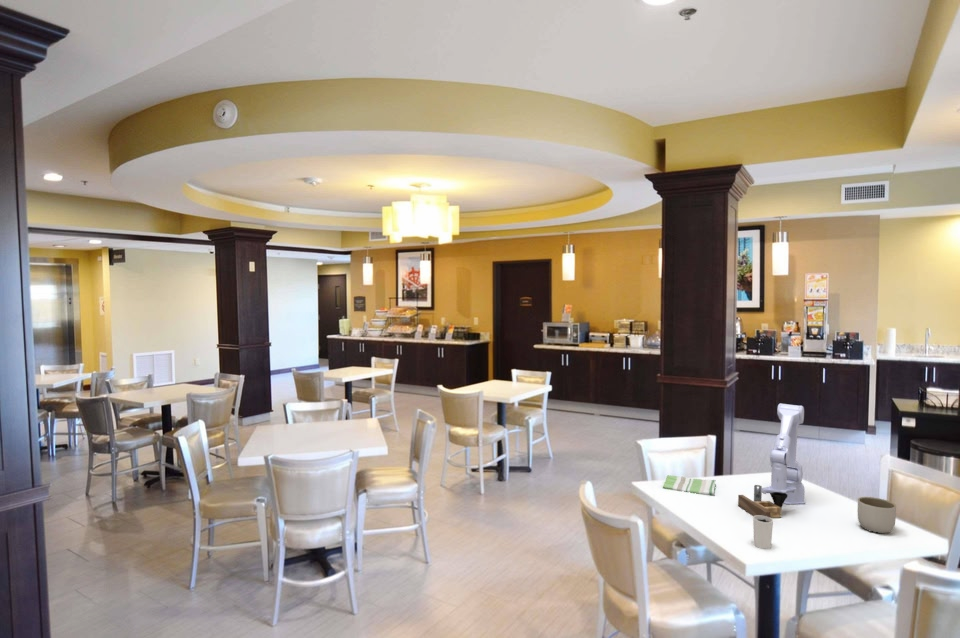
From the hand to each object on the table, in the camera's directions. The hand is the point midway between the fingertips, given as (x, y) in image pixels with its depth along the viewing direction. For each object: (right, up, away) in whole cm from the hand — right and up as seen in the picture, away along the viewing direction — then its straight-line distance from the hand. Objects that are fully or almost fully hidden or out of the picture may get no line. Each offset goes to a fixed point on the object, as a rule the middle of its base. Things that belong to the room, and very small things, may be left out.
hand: (778, 509), depth 238 cm
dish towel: (-25, -1, +34) cm, 42 cm away
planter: (+31, -3, -15) cm, 34 cm away
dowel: (-3, -1, +12) cm, 12 cm away
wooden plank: (-11, -2, -1) cm, 11 cm away
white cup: (-22, -3, -30) cm, 37 cm away
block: (-5, -2, 0) cm, 6 cm away
